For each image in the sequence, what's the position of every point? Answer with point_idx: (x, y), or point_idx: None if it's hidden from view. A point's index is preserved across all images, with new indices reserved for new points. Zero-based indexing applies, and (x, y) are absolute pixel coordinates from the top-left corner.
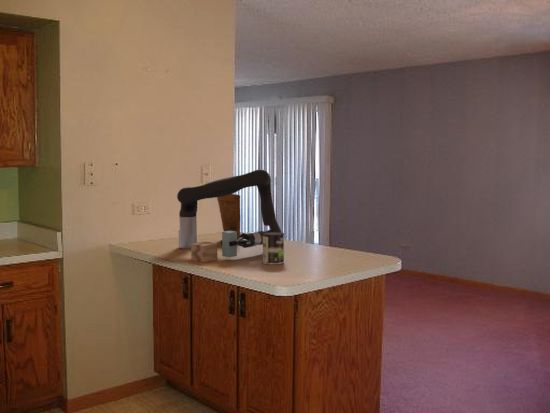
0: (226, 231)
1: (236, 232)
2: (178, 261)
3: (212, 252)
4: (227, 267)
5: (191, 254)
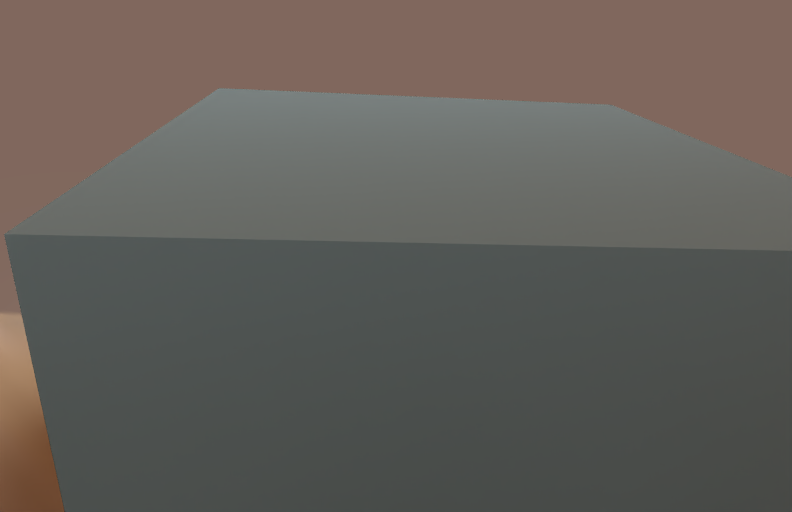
0: (589, 130)
1: (41, 283)
2: None
3: None
4: (20, 431)
5: None
